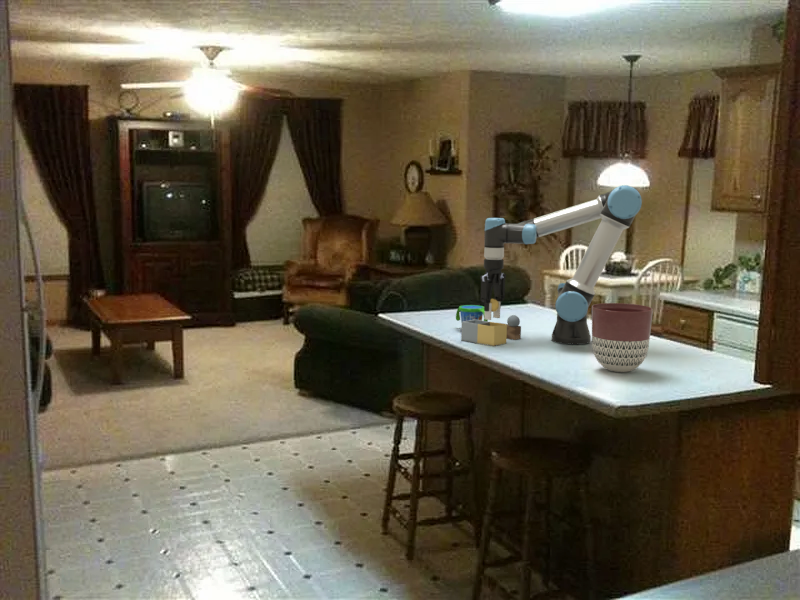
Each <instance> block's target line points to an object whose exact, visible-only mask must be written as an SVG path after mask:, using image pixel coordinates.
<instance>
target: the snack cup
mask: <svg viewBox="0 0 800 600" xmlns="http://www.w3.org/2000/svg"><path fill="white" fill-rule="evenodd" d="M484 314H485V311H484V305H476V304H465V305H464V304H463V305H460V306H459V307H458V308H457V310H456V313H455V321H459V322H460V321H461V323H462V322H463V321H469V320H474V319H475V320H481V321H488V322H489V320H486V319H484V318H483V317H484Z"/></svg>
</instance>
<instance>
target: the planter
mask: <svg viewBox="0 0 800 600" xmlns="http://www.w3.org/2000/svg"><path fill="white" fill-rule="evenodd" d="M653 310H654V309H653V308H652V307H651V306H647V305H643V304H634V303H625V302H624V303H623V302H619V303H618V302H605V303H596V304H593V305H591V344H592V345H591V346H592V352H593V354H594V355H593V356H594V357H595V360H596V361H597V362H598V363H599V365H601V366H602V367H603V368H604V369H606V370H607V371H610V372H613V373H614V372H615V373H629V372H632V371H635V370H636V369H638V367H640V366H641V364H643V363H644V361H645V359H646V357H647V354H648V351H649V347H650V339H651V331H652V330H651V329H652V322H653Z"/></svg>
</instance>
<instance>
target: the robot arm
mask: <svg viewBox="0 0 800 600" xmlns="http://www.w3.org/2000/svg"><path fill="white" fill-rule="evenodd" d="M642 202H643V199H642V196H641V194H640V192H639V191H638V189H636V188H635V187H633V186H630V185H627V184H626V185H625V184H624V185H619V186H616V187H615V188H613V189H611V190H609V191H608V192H605V193H602V194H599V195H598V196H597V197H596V199H592V200H591V199H590V200H588V201H586V202H583V203H582V202H581V203H579V204H576V205H573V206H569V207H567V208H564V209H560V210H556V211H554V212H551V213H547V214H544V215H541V216H538V217H535V218H531V219H529V220H525V221H521V222H518V223H506V219H505V218H503V217H487V218H486V219H485V223H484V239H483V242H484V245H483V246H484V251H483V252H484V253H483V257H484V260H483V268H484V269H485V272H484V275H480V277H479V279H480V301H481V302H482V303H483V304H484V305H483V307H484V311H485V314H484V315H483V320H484V319H486V320H488V321H491V320H492V318H495V319H501V305H502V304H501V303H502V302H503V301H504V300H505V298H506V297H505V295H506V294H505V293H506V278H507V273H504V272H502V270H503V269H504V264H505V261H504V257H505V244H517V245H521V244H522V245H523V244H524V245H534V244H535V243H536V242H537V238H540V237H543V236H547V235H550V234H554V233H557V232H560V231H564V230H567V229H570V228H573V227H577V226H580V225H583V224H587V223H590V222H594V221H596V220H599V219H601V221H600V223H599V224H598V227H597V229H596V230H595V232H594V233H593V234H594V235H593V237H592V238H591V241H590V243H589V245H588V247H587V248H586V250H585V252H584V255H583V257H582V259H581V260H580V262H579V265H578V267H577V269H576V270H575V272H574V275H573V276H572V277H571V278H569V279H567V280H566V281H565V283H564V282H561V283H559V284H558V285H557V288H556V289H557V298H556V301H555V306H554V307H555V311H556V322H555V325H554V326H553V327H554V328H553V331H552V333H551V342H554V343H557V344H564V345H586V344H590V343H592V335H591V333H590V329H589V326H588V309H589V307H590V305H591V303H592V301H593V299H594V297H595V295H596V291H595V286H596V284H597V282H598V280H599V278H600V276H601V275H602V273H603V271H604V269H605V266H606V264H607V263H608V260H609V258H610V257H611V255H612V253H613V251H614V249H615V247H616V246H617V243H618V242H619V239H620V237H621V235H622V233H623V231H625V230H626V229H629V228H630V227H631V226H632V223H633V221H634V219H635V218H636V215H638V213H639V212H640V210H641V208H642V204H643V203H642ZM492 294H493V295H494V299H495V300H497V301H498V303H499V307H498V309H497V310H496V311H494V312H491V309H492V303H490V300H491V299H492ZM492 315H493V317H492Z"/></svg>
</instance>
